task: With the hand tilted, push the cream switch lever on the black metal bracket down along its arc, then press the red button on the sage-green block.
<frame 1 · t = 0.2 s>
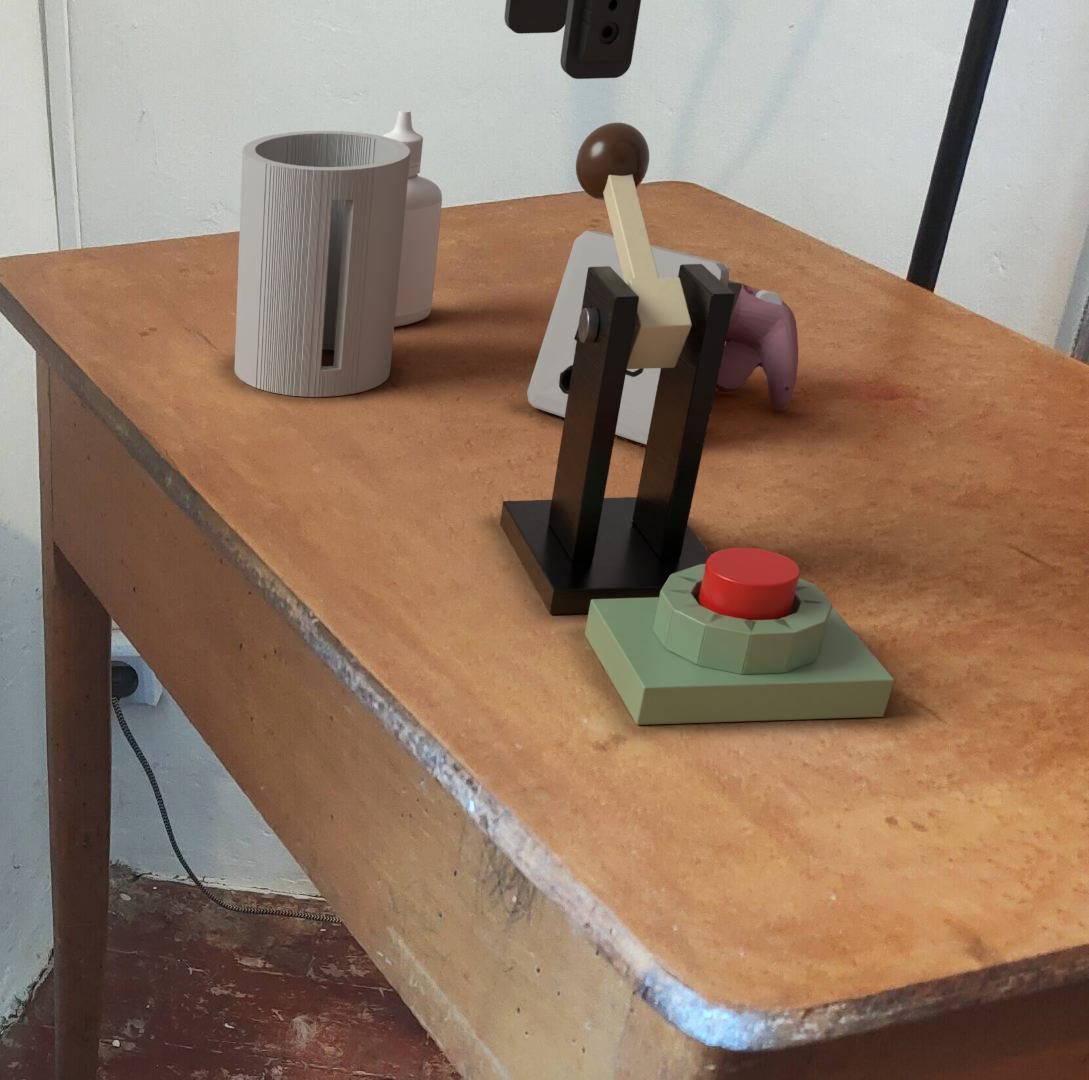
hand: (562, 52, 62), 23 cm above the table, tool pointing down, fingers open, 8 cm apart
video game controller: (696, 397, 99), on the table
lever: (631, 238, 77), point 13 cm above the table, hinge at 26.0°
button: (748, 585, 70), point 4 cm above the table, slide at 0.1 cm
bracket: (608, 564, 82), on the table
eye dropper bottle: (386, 322, 111), on the table
electrical switch: (615, 421, 96), on the table
cup: (311, 373, 103), on the table
button block: (727, 674, 73), on the table
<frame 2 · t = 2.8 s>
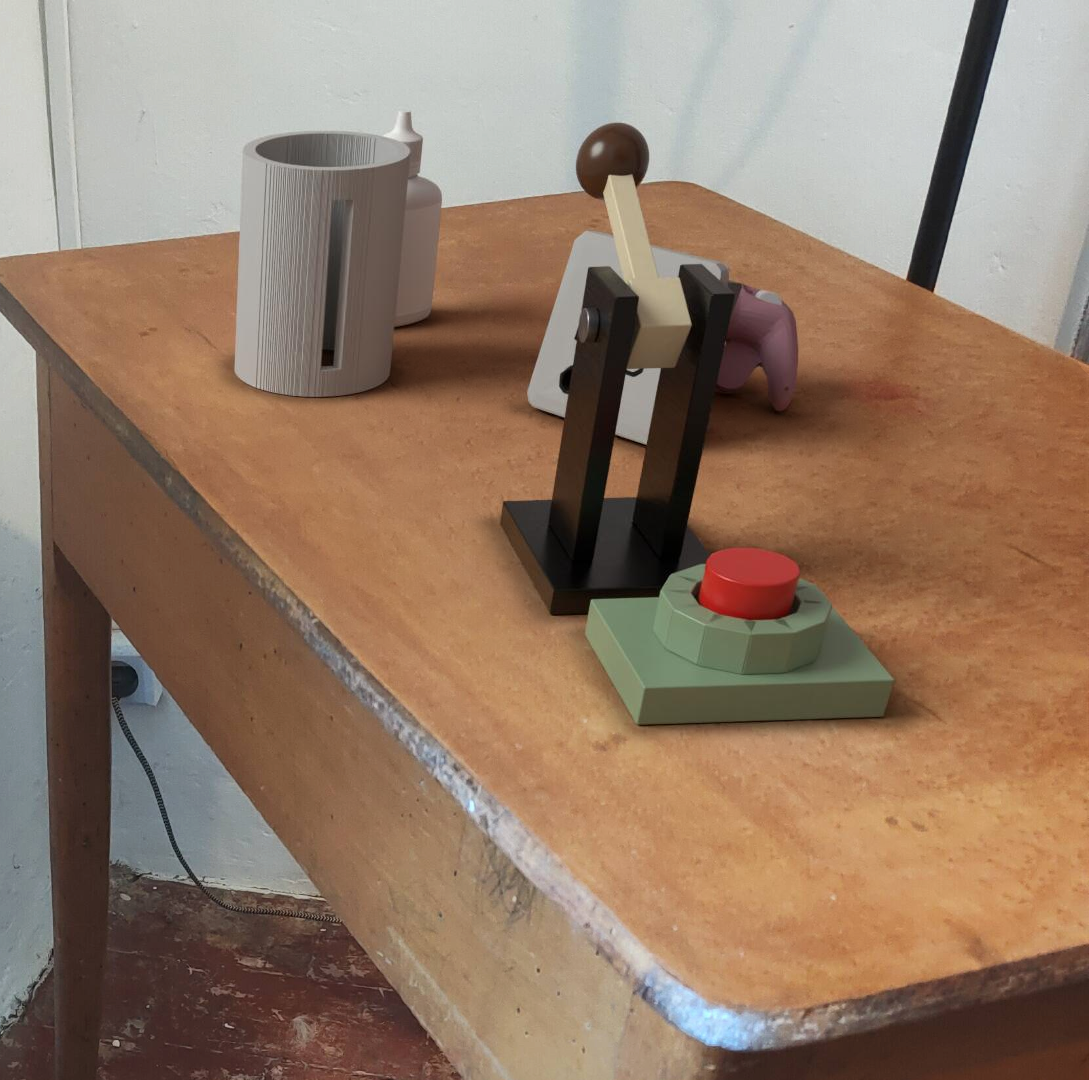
nothing on the table moved.
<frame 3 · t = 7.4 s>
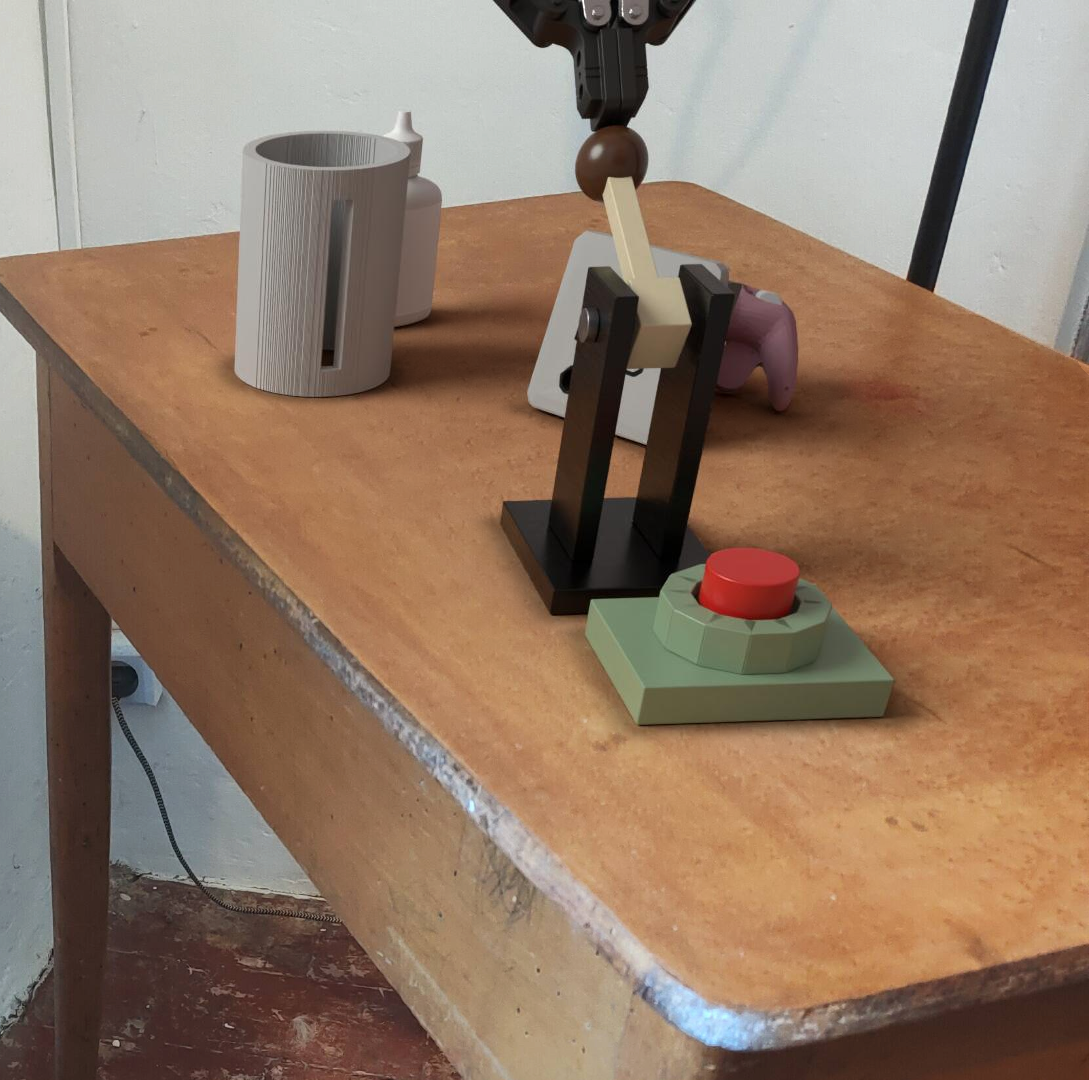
hand: (614, 120, 78), 17 cm above the table, tool tilted 45°, fingers closed
lever: (630, 240, 77), point 13 cm above the table, hinge at 25.2°, touching gripper
everything else where it was.
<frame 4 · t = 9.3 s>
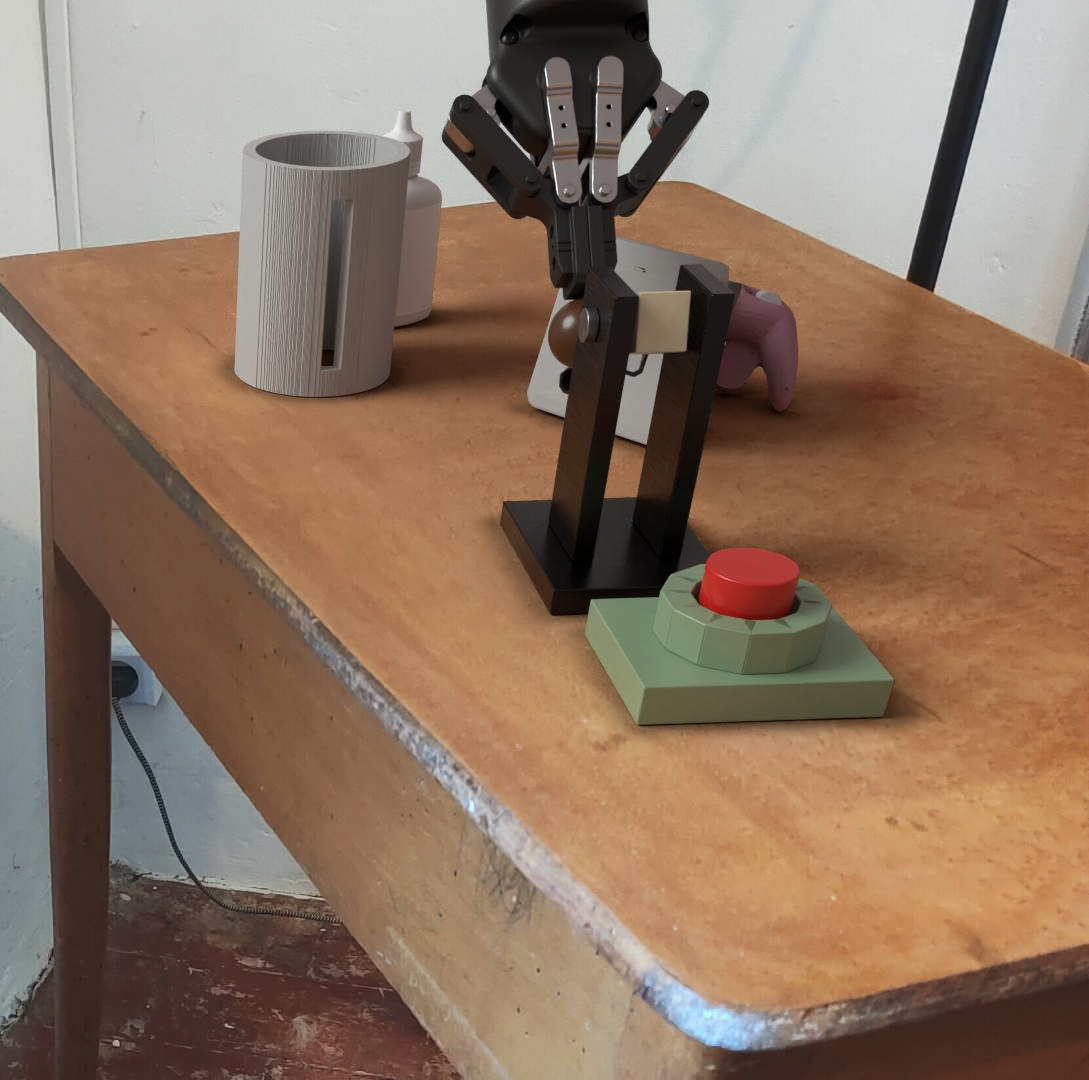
hand: (585, 291, 83), 10 cm above the table, tool tilted 45°, fingers closed
lever: (614, 328, 79), point 9 cm above the table, hinge at -19.7°, touching gripper
everything else where it was.
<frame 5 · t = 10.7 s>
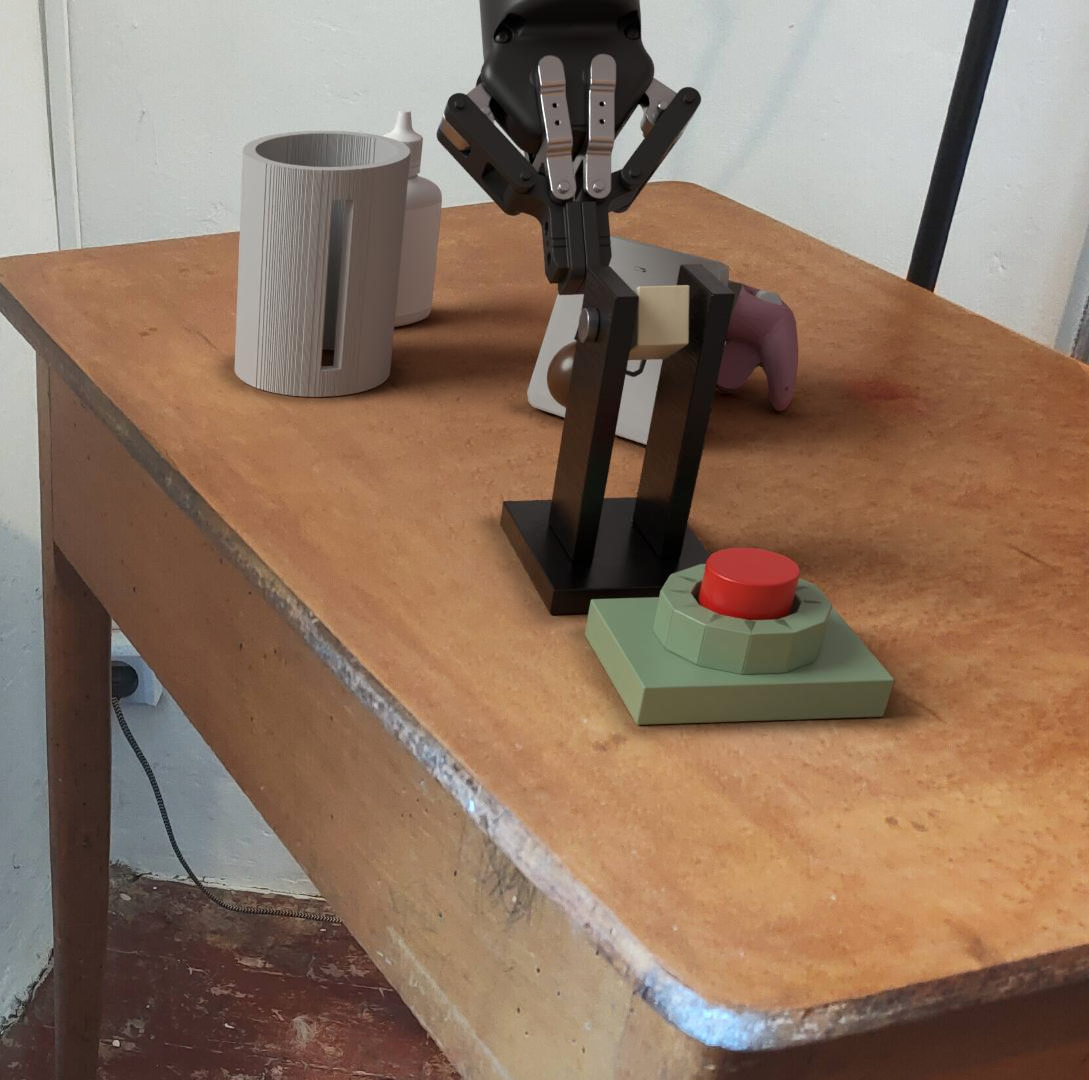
hand: (580, 286, 84), 9 cm above the table, tool tilted 45°, fingers closed
lever: (613, 351, 80), point 8 cm above the table, hinge at -30.6°
everything else where it was.
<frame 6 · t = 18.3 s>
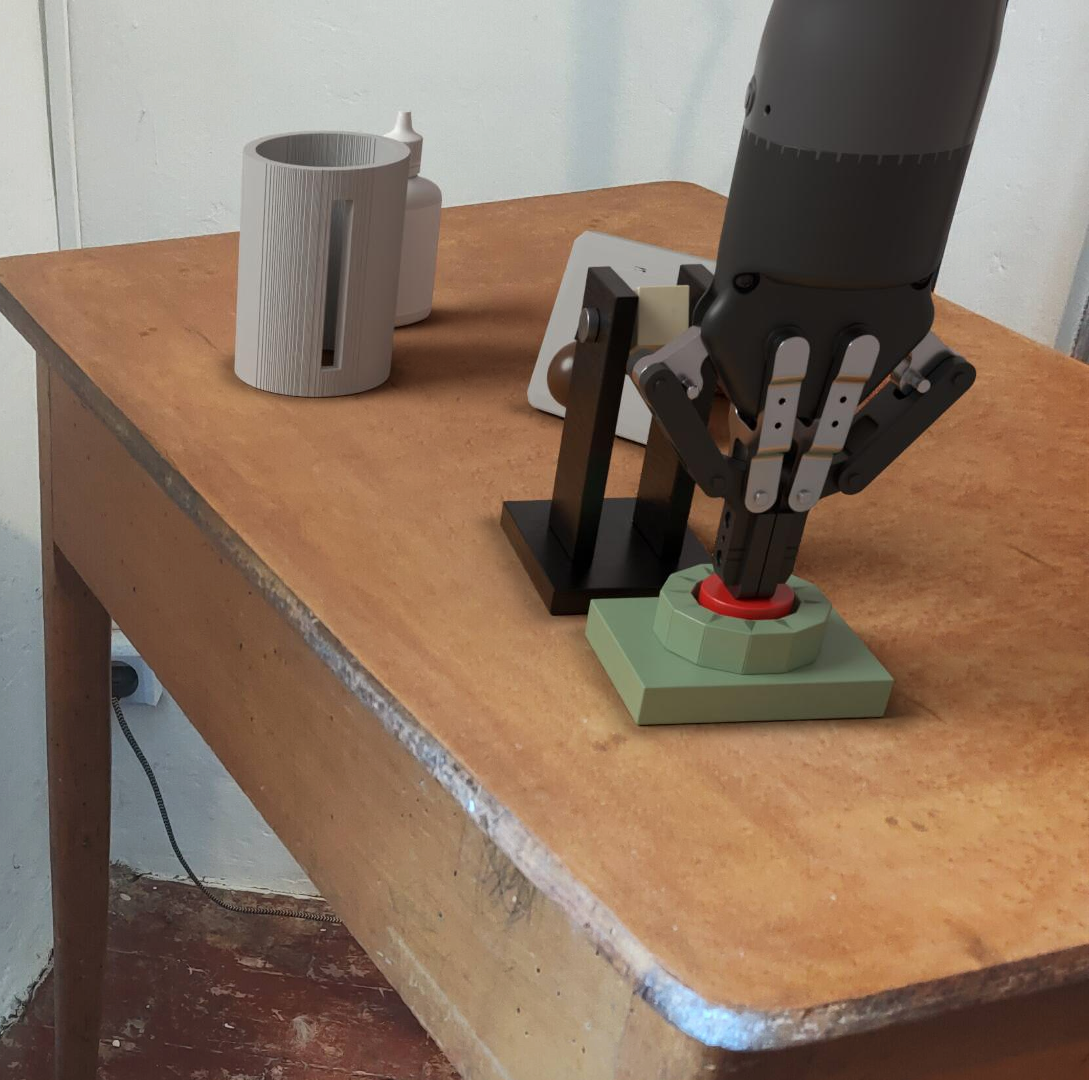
hand: (746, 590, 70), 4 cm above the table, tool pointing down, fingers closed
button: (743, 608, 71), point 3 cm above the table, slide at -0.9 cm, touching gripper
everything else where it was.
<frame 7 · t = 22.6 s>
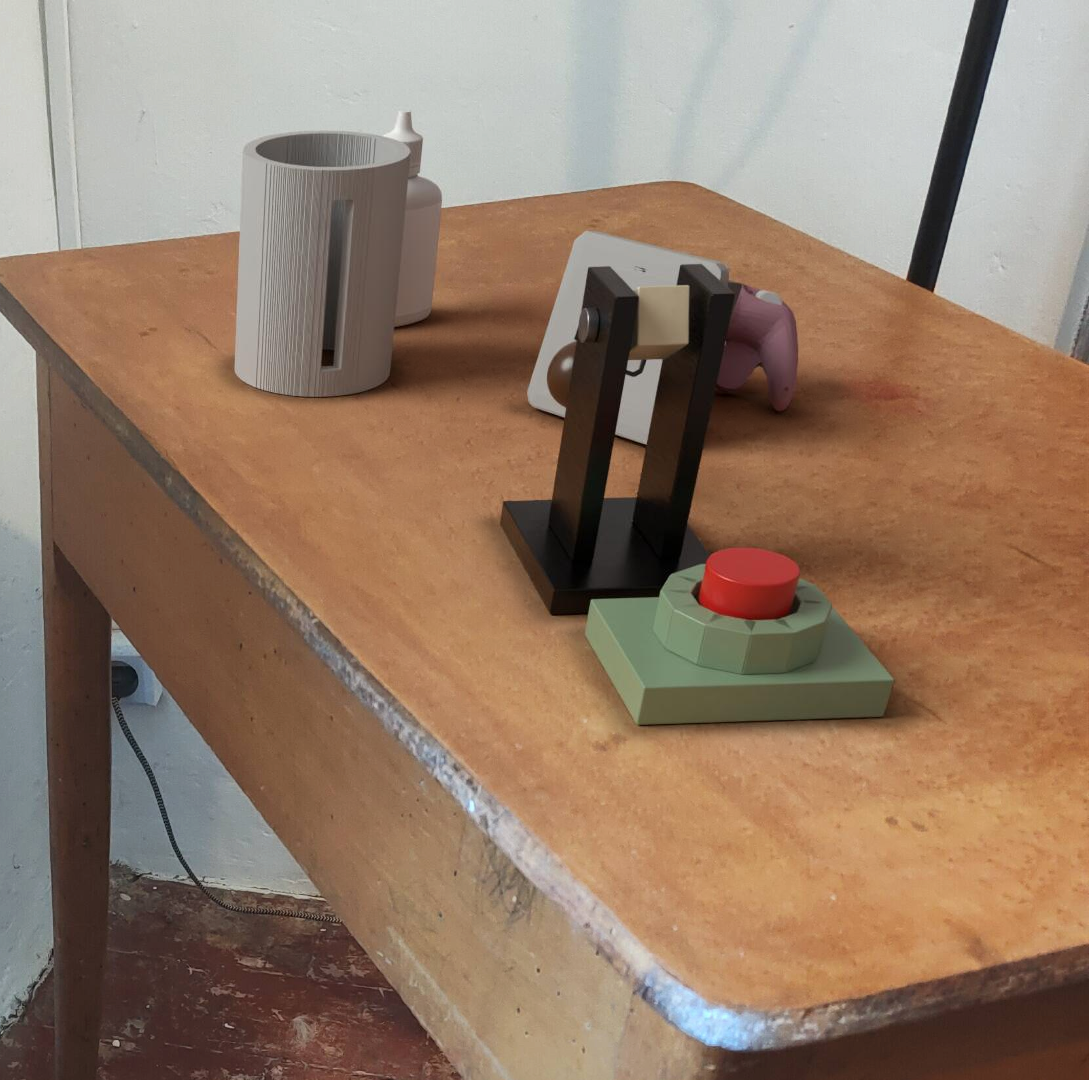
button: (748, 585, 70), point 4 cm above the table, slide at 0.1 cm
everything else where it was.
at the end: lever at -31° (first picture: +26°); button pushed in 1.1 cm at the most during the clip, back to where it started at the end; button slide at 0.1 cm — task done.
